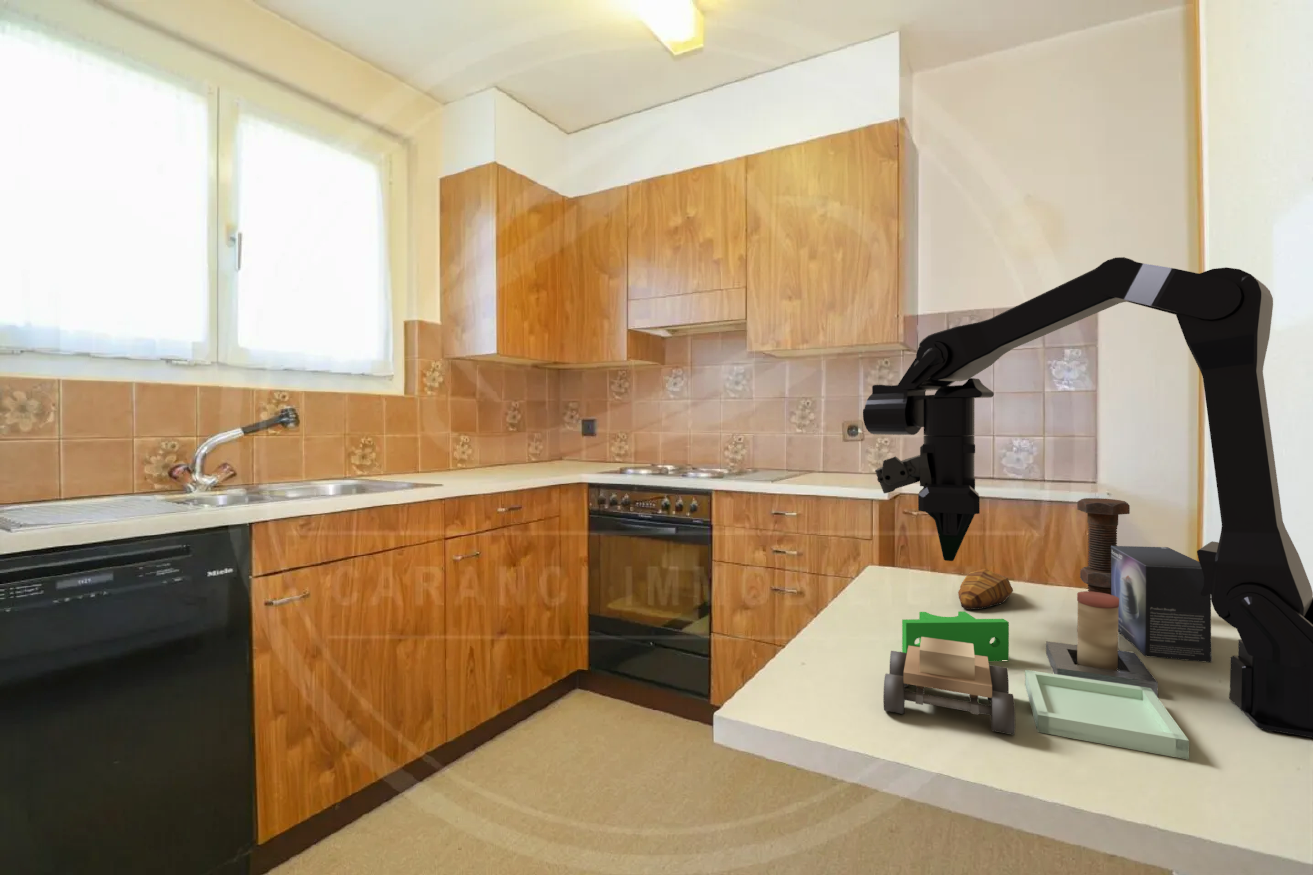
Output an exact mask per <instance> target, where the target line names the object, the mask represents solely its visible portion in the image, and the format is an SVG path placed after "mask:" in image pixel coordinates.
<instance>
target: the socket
mask: <svg viewBox="0 0 1313 875" xmlns="http://www.w3.org/2000/svg"><path fill="white" fill-rule="evenodd" d="M1045 654H1046V657H1047V659H1048V662H1049V665H1050V667H1051V669H1052V672H1053V674H1058V675H1064V676H1071V677H1078V678H1085V679H1092V680H1099V681H1106V682H1112V683H1119V684H1126V685H1133V686H1140V687H1147V688H1151V689H1152V690H1153V692H1154V693H1155V695H1156V696H1157V697H1159V696H1158V695H1159V694H1158V693H1159V692H1158V690H1159V689H1158V688H1159V687H1158V686H1159V684H1158V681H1157V679H1155V677H1154V675H1153V674H1152V673H1151V671H1150V670H1149V669H1148V668H1147V667H1146V665H1145V664H1144V662H1143V661H1142V660H1141V659H1140V657H1139V656H1138V655H1137V654H1136V652H1134V651H1127V650H1119V649H1118V671H1117V670H1109V669H1102V668H1095V667H1088V666H1081V665H1077V644H1071V643H1063V642H1055V641H1045ZM1075 663H1076V664H1075Z"/></svg>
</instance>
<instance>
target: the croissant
mask: <svg viewBox="0 0 1313 875" xmlns="http://www.w3.org/2000/svg"><path fill="white" fill-rule="evenodd" d="M1013 592H1014V588H1013V587H1012V585H1011V582H1010V580H1009V578H1008V577H1006V576H1005V575H1004V576H1003V575H1001V574H999V573H996V572H994V571H992V570H990V569H989V568H986V567H985V568H981V569H978V570H975V571H971V572H969V573H968V574H966V576H964V578H963V580H962V582H961V584H960V586H959V590H958V591H957V593H958V594H957V595H958V599H959V602H960V606H961V608H963V609H965V610H983V609H986V608H990V607H993V606H997V605H1001V604H1003V603H1004V602H1005V601H1006V600H1007V599H1008V598H1009V597H1010V596H1011V595H1012V593H1013ZM1000 603H1001V604H1000Z"/></svg>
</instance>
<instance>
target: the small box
mask: <svg viewBox="0 0 1313 875" xmlns="http://www.w3.org/2000/svg"><path fill="white" fill-rule="evenodd" d="M1203 586H1204V575H1203V571H1202V568H1201V565H1200V563H1199V560H1196V559H1194V558H1192V557H1190V556H1187V555H1186V554H1184V553H1181V552H1179V551H1176V550H1174V549H1172V548H1170V547H1167V546H1134V545H1130V546H1129V545H1117V546H1111V595H1113V596H1116V597H1118V598H1119V607H1118V633H1119V634H1120V635H1122V636H1123V637H1124V638H1125V639H1126V640H1127V641H1128V642H1129V643H1130V644H1131V645H1132V646H1134V648H1136V649H1137V650H1138V651H1139V652H1140V653H1141V654H1142V655H1143V656H1144V657H1149V658H1150V657H1151V658H1161V659H1169V660H1170V659H1171V660H1181V661H1193V662H1204V663H1212V662H1213V655H1212V654H1213V653H1212V651H1213V648H1212V601H1211V594H1209V595H1207V596H1202V595H1201V591H1202V589H1203Z"/></svg>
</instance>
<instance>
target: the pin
mask: <svg viewBox="0 0 1313 875" xmlns="http://www.w3.org/2000/svg"><path fill="white" fill-rule="evenodd" d="M1076 595H1077V596H1076V598H1077V600H1076V601H1077V628H1076V630H1077V636H1076V638H1077V641H1076V642H1077V643H1076V645H1077V663H1076V665H1081V666H1088V667H1095V668H1102V669H1109V670H1117V671H1119V669H1118V650H1119V632H1118V607H1119V598H1118V597H1116V596H1113V595H1110V594H1106V593H1100V592H1090V591H1088V590H1085V591H1079V592H1077V594H1076Z"/></svg>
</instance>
